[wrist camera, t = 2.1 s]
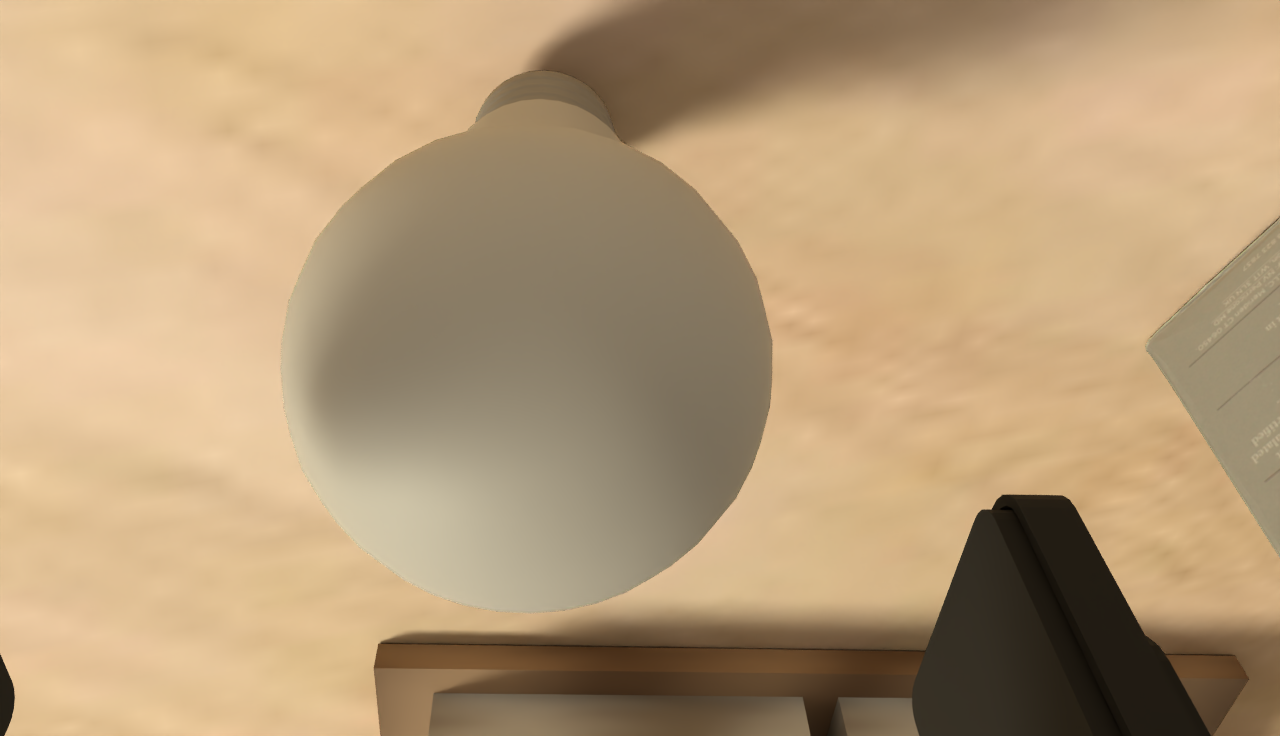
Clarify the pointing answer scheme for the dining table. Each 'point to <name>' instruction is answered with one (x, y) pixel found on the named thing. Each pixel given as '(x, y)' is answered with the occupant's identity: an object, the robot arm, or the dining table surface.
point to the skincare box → (1234, 372)
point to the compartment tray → (682, 691)
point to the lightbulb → (527, 359)
